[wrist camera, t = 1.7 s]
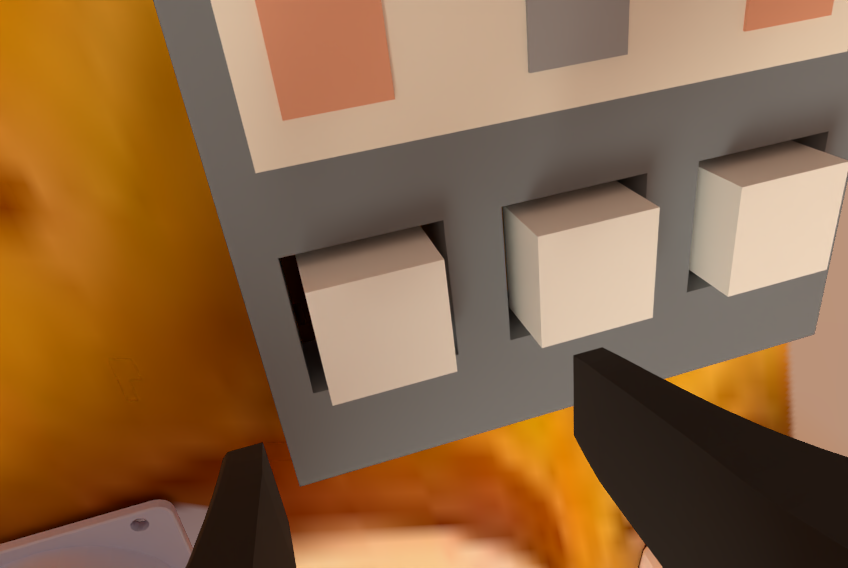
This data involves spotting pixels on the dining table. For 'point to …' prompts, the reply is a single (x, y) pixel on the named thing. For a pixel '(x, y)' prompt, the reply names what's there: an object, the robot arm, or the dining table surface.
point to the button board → (491, 174)
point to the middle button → (581, 261)
